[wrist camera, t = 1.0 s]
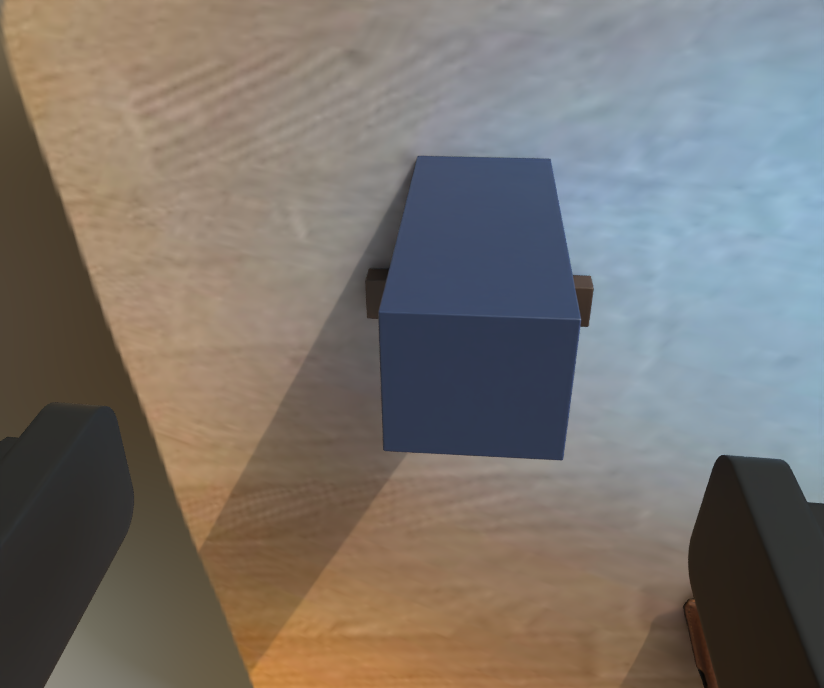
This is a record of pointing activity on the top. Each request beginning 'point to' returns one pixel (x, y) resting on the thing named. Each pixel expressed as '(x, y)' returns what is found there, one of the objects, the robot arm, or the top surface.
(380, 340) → the navy box
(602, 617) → the top surface
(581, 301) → the stop strip
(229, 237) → the top surface
